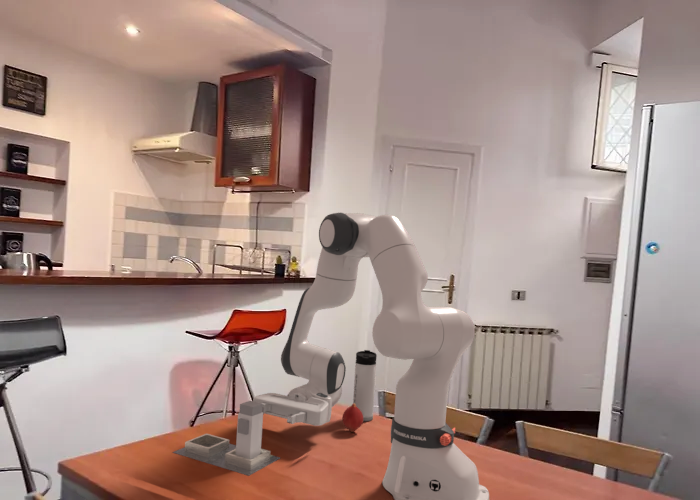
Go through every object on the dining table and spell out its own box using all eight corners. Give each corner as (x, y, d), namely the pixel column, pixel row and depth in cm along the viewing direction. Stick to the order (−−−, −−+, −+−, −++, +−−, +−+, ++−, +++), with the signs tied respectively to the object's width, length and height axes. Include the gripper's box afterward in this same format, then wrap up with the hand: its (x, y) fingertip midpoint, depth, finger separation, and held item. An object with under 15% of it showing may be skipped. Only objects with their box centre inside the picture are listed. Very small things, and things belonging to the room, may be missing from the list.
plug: (260, 460, 122) (263, 403, 122) (247, 467, 118) (250, 408, 118) (246, 456, 124) (249, 400, 124) (232, 463, 120) (236, 405, 120)
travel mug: (373, 415, 164) (377, 350, 164) (372, 422, 158) (376, 354, 158) (353, 413, 165) (357, 349, 165) (351, 420, 158) (355, 353, 158)
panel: (280, 462, 124) (281, 449, 124) (248, 480, 114) (249, 466, 114) (207, 441, 134) (208, 429, 134) (172, 456, 124) (173, 443, 124)
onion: (338, 429, 150) (340, 400, 150) (356, 427, 152) (358, 399, 152) (346, 436, 144) (348, 406, 144) (365, 434, 147) (367, 405, 147)
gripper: (271, 384, 147) (239, 395, 134) (337, 398, 137) (309, 411, 125) (269, 407, 147) (237, 420, 134) (335, 422, 137) (307, 438, 125)
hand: (273, 416), depth 130 cm, fingers open, 8 cm apart
